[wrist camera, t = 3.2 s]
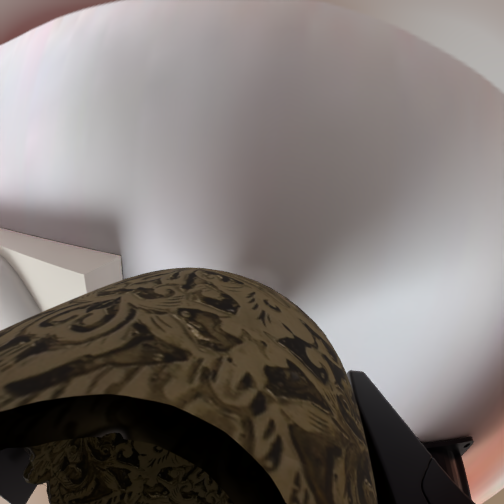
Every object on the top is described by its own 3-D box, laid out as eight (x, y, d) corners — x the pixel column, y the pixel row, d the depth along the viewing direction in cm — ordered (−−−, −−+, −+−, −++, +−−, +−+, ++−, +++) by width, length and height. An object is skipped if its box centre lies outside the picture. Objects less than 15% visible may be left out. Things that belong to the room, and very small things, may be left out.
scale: (120, 255, 11) (-26, 338, 4) (159, 452, 16) (116, 522, 9) (-19, 222, 14) (-83, 246, 7) (22, 370, 19) (-20, 405, 12)
